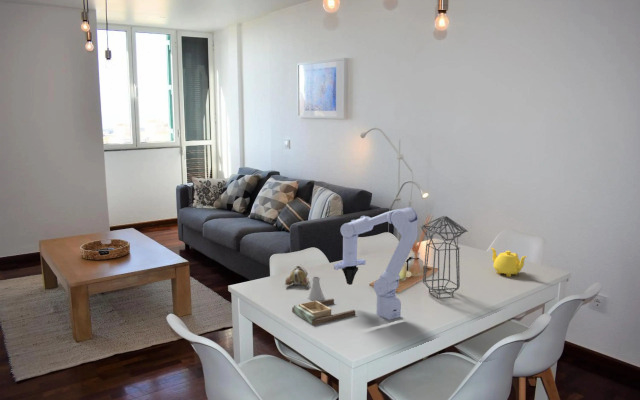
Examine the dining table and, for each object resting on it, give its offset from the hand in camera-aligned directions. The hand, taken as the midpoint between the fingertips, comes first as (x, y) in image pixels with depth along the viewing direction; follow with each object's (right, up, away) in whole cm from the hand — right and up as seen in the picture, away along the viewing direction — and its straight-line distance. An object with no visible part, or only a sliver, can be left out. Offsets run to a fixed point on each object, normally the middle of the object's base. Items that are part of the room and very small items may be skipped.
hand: (349, 283), depth 218 cm
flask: (-14, -8, +8) cm, 18 cm away
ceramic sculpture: (-22, -5, +29) cm, 37 cm away
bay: (-11, -11, -9) cm, 18 cm away
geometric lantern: (+41, -7, +16) cm, 44 cm away
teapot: (+81, -2, +47) cm, 94 cm away
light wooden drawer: (-14, -10, -11) cm, 21 cm away
